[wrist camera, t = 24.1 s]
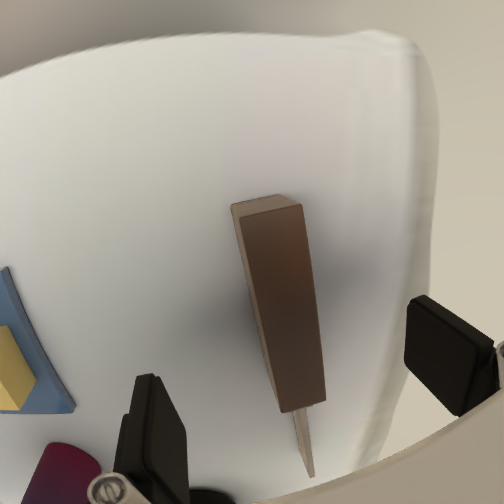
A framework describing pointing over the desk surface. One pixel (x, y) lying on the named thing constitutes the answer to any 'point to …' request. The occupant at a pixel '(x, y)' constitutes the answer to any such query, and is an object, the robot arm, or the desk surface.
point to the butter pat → (13, 373)
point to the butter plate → (31, 356)
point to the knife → (284, 305)
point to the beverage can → (208, 497)
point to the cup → (62, 476)
